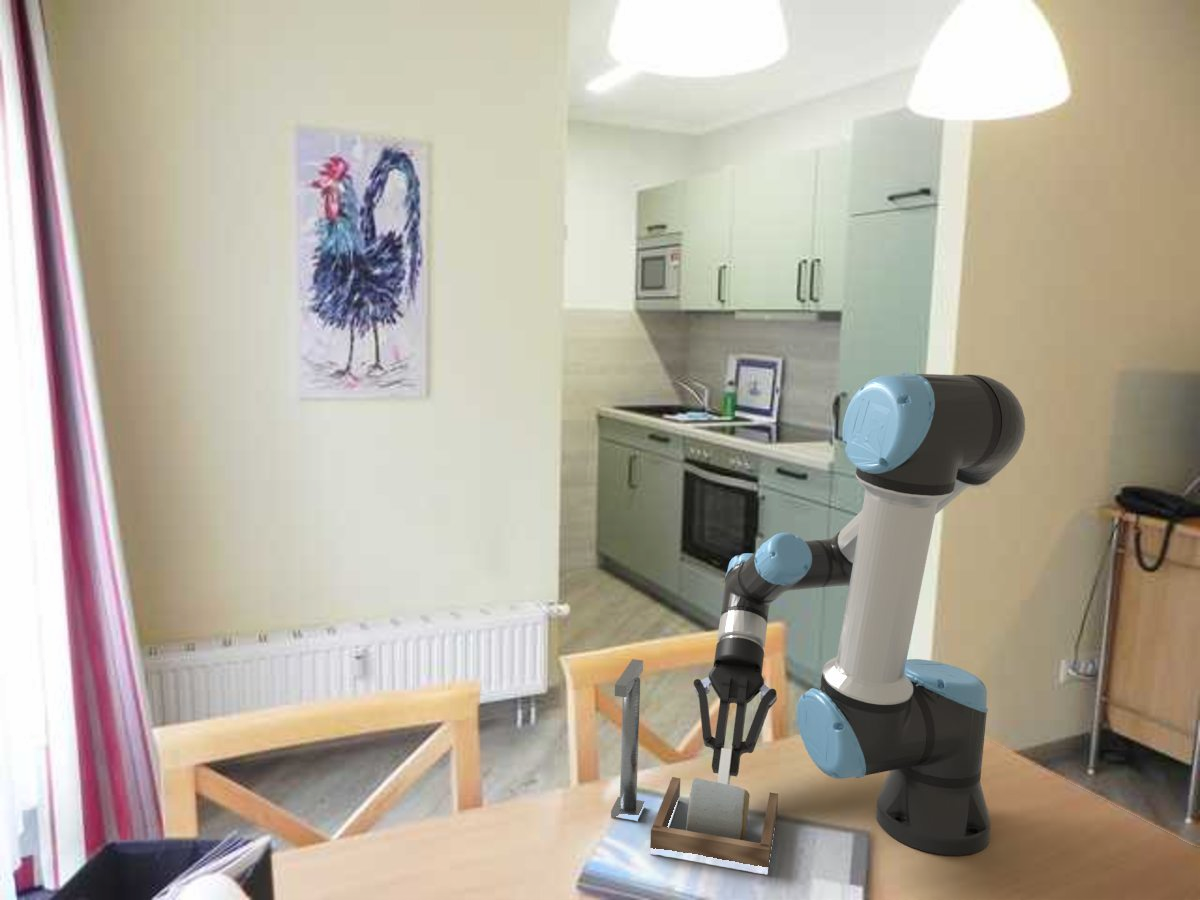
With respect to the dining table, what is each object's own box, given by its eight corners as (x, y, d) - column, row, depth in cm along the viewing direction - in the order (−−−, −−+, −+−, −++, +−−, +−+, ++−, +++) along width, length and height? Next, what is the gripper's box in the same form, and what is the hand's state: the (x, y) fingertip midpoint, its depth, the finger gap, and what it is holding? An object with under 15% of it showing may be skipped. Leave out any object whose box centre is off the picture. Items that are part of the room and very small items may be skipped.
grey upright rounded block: (746, 856, 116) (749, 800, 116) (684, 847, 118) (686, 793, 117) (748, 815, 127) (751, 764, 126) (692, 808, 128) (694, 758, 128)
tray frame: (776, 816, 126) (778, 793, 126) (767, 875, 112) (769, 850, 112) (671, 799, 130) (672, 776, 130) (650, 854, 116) (650, 829, 116)
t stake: (646, 802, 129) (651, 661, 127) (630, 839, 120) (635, 687, 117) (620, 798, 130) (624, 658, 128) (602, 834, 121) (606, 683, 118)
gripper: (782, 661, 141) (768, 812, 127) (701, 651, 144) (679, 797, 130) (781, 639, 135) (767, 795, 121) (697, 630, 138) (673, 780, 124)
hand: (721, 796), depth 126 cm, fingers closed
